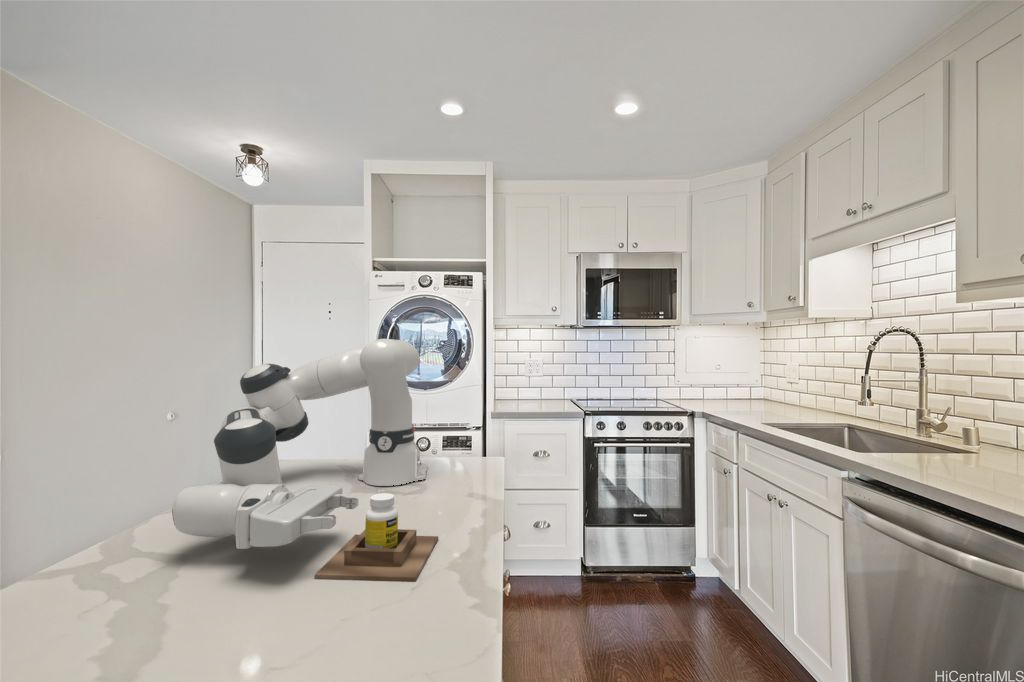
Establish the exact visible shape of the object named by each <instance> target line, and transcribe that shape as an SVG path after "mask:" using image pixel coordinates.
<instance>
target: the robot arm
mask: <svg viewBox="0 0 1024 682" xmlns="http://www.w3.org/2000/svg"><path fill="white" fill-rule="evenodd" d="M420 357H421V356H420V353H419V350H418V349H417V348H416V347H415V346H414V345H413V344H411V343H410V342H409V341H406V340H404V339H393V338H392V339H391V338H378V339H376V340H372V341H371V342H369V343H367V344H366V345H365V346H364V347H361V348H357V349H351V350H346V351H344V352H340V353H337V354H333V355H329V356H326V357H322V358H319V359H316V360H313V361H310V362H308V363H306V364H303V365H302V366H300V367H297V368H296V369H294V370H293V371H292V372H291V370H292V369H291V368H289V367H287V366H281V365H279V364H275V363H265V364H259V365H255V366H254V367H252V368H250V369H249V370H248V371H247V372H244V374H243V375H242V376H241V378H240V380H239V384H240V388H241V389H240V390H241V392H242V393H243V394H244V395H245V398H246V399H247V403H248V404H249V406H248V405H243V406H240V407H237V408H234V409H232V410H231V411H230V412H229V413H228V414H227V415H226V416H225V418H224V419H223V420H222V424H221V426H220V430H219V431H218V432H217V434H216V435H215V437H214V439H213V444H214V448H215V450H216V451H215V452H216V453H217V457H218V462H219V467H220V473H221V477H222V481H221V482H219V483H212V484H211V483H209V484H200V485H199V484H198V485H191V486H188V487H185V488H183V489H182V490H180V491H179V492H178V494H177V495H176V496H175V499H174V501H173V504H172V505H173V506H172V512H171V513H172V521H173V524H174V525H173V526H174V527H175V529H176V530H177V531H179V532H180V533H183V534H185V535H188V536H193V537H204V538H225V537H226V538H227V537H230V536H235V546H236V547H235V548H236V549H238V550H248V549H250V548H252V547H257V548H259V547H264V548H265V547H266V548H267V547H268V548H269V547H280V546H281V547H282V546H285V545H289V544H291V543H293V541H294V542H295V540H296V539H297V538H299V537H301V535H303V534H304V533H311V532H314V531H318V530H330V529H333V528H334V526H336V525H337V516H336V515H335V514H330V513H332V512H333V511H334V510H335V509H338V508H345V509H346V510H354V509H356V508H357V507H359V498H358V497H357V496H349V495H345V493H344V494H343V486H341V485H339V484H337V485H335V484H331V485H330V484H329V485H311V486H309V485H308V486H305V487H303V488H300V489H298V490H297V491H294V492H291V491H290V490H289V489H288V487H287V486H286V485H284V484H283V482H282V475H281V470H280V469H281V467H280V461H279V453H278V448H277V442H278V443H279V442H280V443H283V442H289V441H292V440H294V439H295V438H298V437H300V436H301V435H302V434H303V433H304V432H305V431H306V430H307V428H308V426H309V423H310V422H309V418H308V413H307V412H306V411H305V409H304V406H303V404H302V402H301V401H310V400H319V399H325V398H329V397H333V396H337V395H341V394H344V393H348V392H351V391H354V390H359V389H361V388H366V387H368V392H369V396H370V411H371V412H370V416H371V417H370V419H371V420H370V421H371V422H370V425H371V426H370V429H369V433H368V437H369V438H368V439H369V441H368V442H369V445H368V446H367V447H366V448H365V449H364V454H363V469H362V473H360V474H358V477H357V480H359V481H362V480H363V482H364V483H365V484H367V485H370V486H378V487H392V486H393V485H394V486H400V485H401V484H402V485H406V483H407V484H410V483H409V482H411V483H414V482H413V481H415V482H419V481H418V480H422V481H424V480H423V479H425V480H426V478H425V477H427V473H426V471H427V472H428V464H426V463H422V462H421V451H420V448H419V446H418V445H417V444H416V442H415V431H416V428H415V426H414V425H413V399H412V396H411V395H410V392H409V391H410V390H409V386H408V381H407V377H408V376H410V375H411V374H413V372H415V370H416V369H417V368H418V367H419V364H420ZM402 485H401V486H402Z"/></svg>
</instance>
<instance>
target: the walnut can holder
mask: <svg viewBox="0 0 1024 682" xmlns="http://www.w3.org/2000/svg"><path fill="white" fill-rule="evenodd" d="M438 542H439V536H437V535H436V536H435V535H434V536H433V535H417V529H399V528H398V544H397V548H396V549H388V548H365V529H364V530H363V531H362V532H361V533H360V534H354V535H353V536H352V537H351V538H350V539H349V540H348V541H347V542H346V543H345V544H344V545H343V546H342V547H341V548H340V549H339V550H337V552H336V553H335V554H334V555H333V556H332V557H331V558H329V560H327V562H326V563H325V564H324V565H323V566H322V567H321V568H319V569H318V570H317V572H315V574H314V579H315V578H316V579H317V578H322V579H321V580H347V579H348V580H349V579H351V580H352V579H353V580H352V581H355V580H356V579H357V580H358V581H385V582H389V581H390V582H391V581H392V582H417V580H418V578H419V576H420V574H421V572H422V571H423V568H424V566H425V565H426V564H427V561H428V559H429V558H430V556H431V554H432V552H433V550H434V549H435V547H436V545H437V543H438ZM354 579H355V580H354ZM317 580H318V579H317Z"/></svg>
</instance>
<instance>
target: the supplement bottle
mask: <svg viewBox="0 0 1024 682" xmlns="http://www.w3.org/2000/svg"><path fill="white" fill-rule="evenodd" d="M394 504H395V495H394V494H392V493H388V492H383V493H376V494H374V495H371V496H370V501H369V506H370V508H369V509H368V510H366V513H365V528H364V530H365V548H388V549H396V548H397V544H398V529H399V525H398V524H399V511H398V508H396V507H395V506H394Z"/></svg>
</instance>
